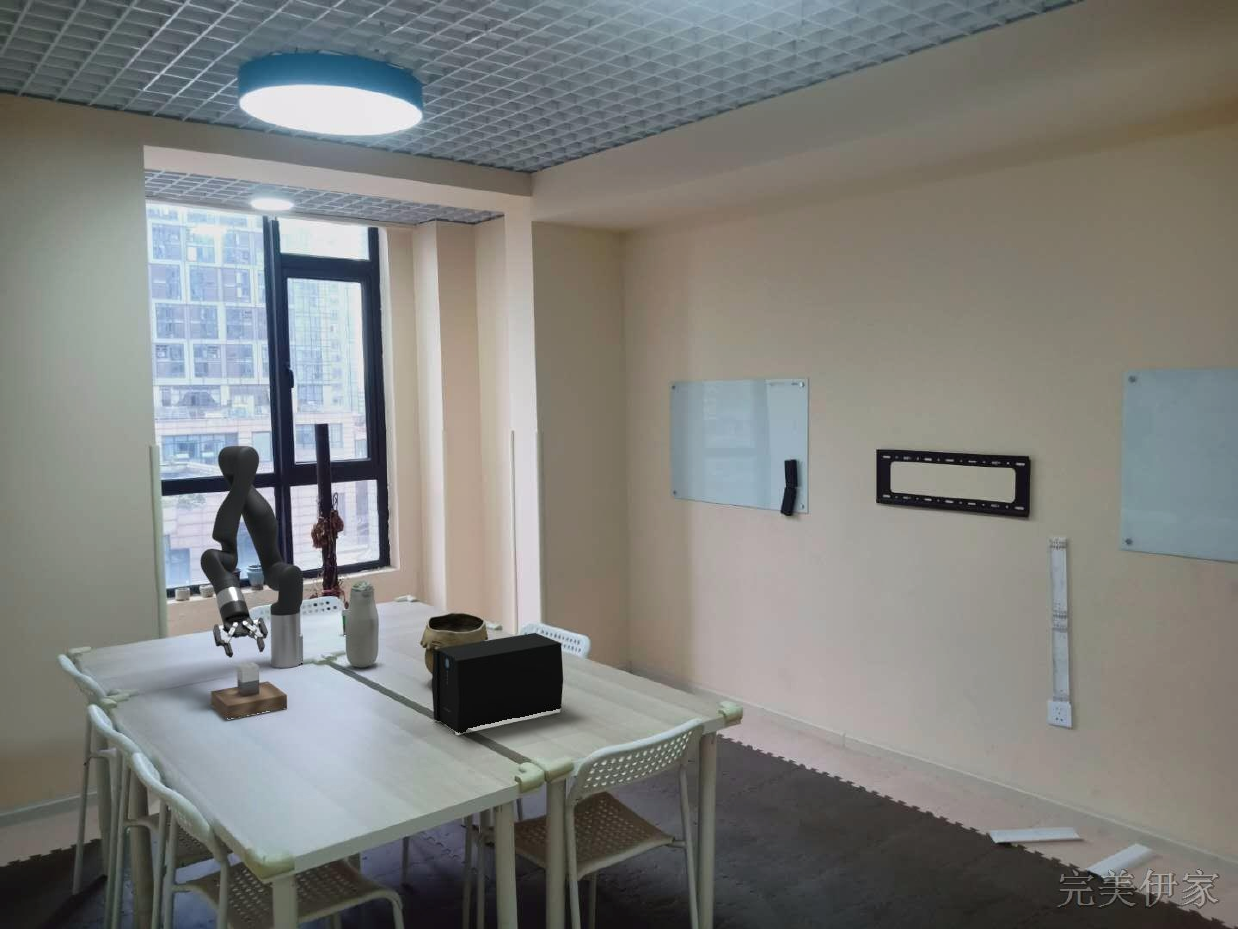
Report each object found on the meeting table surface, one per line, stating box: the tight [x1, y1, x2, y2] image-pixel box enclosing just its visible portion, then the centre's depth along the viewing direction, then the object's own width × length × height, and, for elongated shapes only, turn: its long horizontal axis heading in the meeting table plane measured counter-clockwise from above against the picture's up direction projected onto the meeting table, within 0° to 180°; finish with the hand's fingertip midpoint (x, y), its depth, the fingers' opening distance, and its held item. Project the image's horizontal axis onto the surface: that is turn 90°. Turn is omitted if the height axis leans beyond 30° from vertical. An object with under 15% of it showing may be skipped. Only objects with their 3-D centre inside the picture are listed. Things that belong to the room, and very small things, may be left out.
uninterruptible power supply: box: [431, 632, 564, 733], centre depth 263 cm, size 16×34×20 cm, turn 126°
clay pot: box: [419, 612, 489, 675], centre depth 293 cm, size 21×21×20 cm
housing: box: [236, 661, 260, 697], centre depth 268 cm, size 5×5×8 cm
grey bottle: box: [345, 580, 380, 668], centre depth 309 cm, size 10×10×28 cm
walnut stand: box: [210, 680, 288, 719], centre depth 269 cm, size 16×16×4 cm
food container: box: [341, 609, 348, 636], centre depth 352 cm, size 12×6×10 cm, turn 168°
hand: (246, 653), depth 271 cm, fingers open, 8 cm apart
